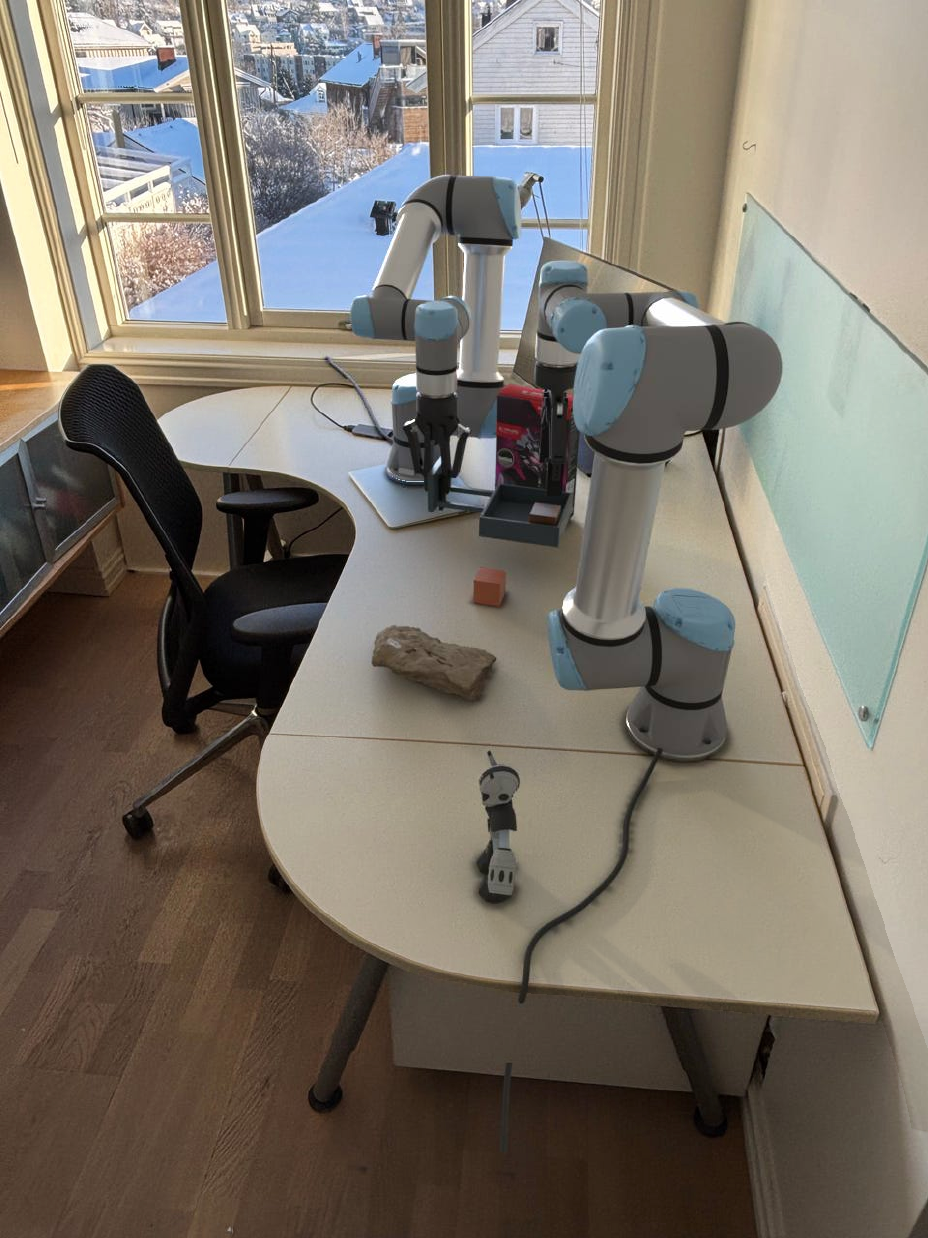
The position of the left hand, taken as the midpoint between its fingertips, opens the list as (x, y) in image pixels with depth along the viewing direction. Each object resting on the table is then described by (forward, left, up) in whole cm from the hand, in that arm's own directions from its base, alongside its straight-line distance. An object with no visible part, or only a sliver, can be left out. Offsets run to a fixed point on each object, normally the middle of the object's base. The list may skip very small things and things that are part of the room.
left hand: (437, 506), depth 182 cm
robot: (+83, +14, -11) cm, 85 cm away
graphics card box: (-19, +19, -11) cm, 29 cm away
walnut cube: (+9, +21, -1) cm, 23 cm away
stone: (+40, +2, -11) cm, 42 cm away
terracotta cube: (+16, +11, -11) cm, 22 cm away
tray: (+3, +12, -1) cm, 13 cm away
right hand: (+12, +21, +12) cm, 27 cm away
